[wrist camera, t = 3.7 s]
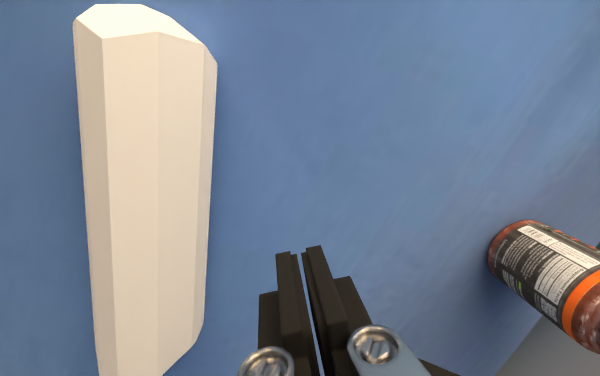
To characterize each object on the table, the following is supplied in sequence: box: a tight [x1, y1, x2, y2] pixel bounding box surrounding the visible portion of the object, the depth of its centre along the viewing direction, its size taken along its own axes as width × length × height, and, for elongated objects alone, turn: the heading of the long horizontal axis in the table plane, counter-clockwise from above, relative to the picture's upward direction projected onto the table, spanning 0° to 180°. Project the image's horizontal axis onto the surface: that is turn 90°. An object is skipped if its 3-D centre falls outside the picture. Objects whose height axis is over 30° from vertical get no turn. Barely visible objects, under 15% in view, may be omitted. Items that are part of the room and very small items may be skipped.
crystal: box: [73, 4, 218, 376], centre depth 20 cm, size 7×7×24 cm
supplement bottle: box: [488, 220, 600, 354], centre depth 22 cm, size 6×6×11 cm
